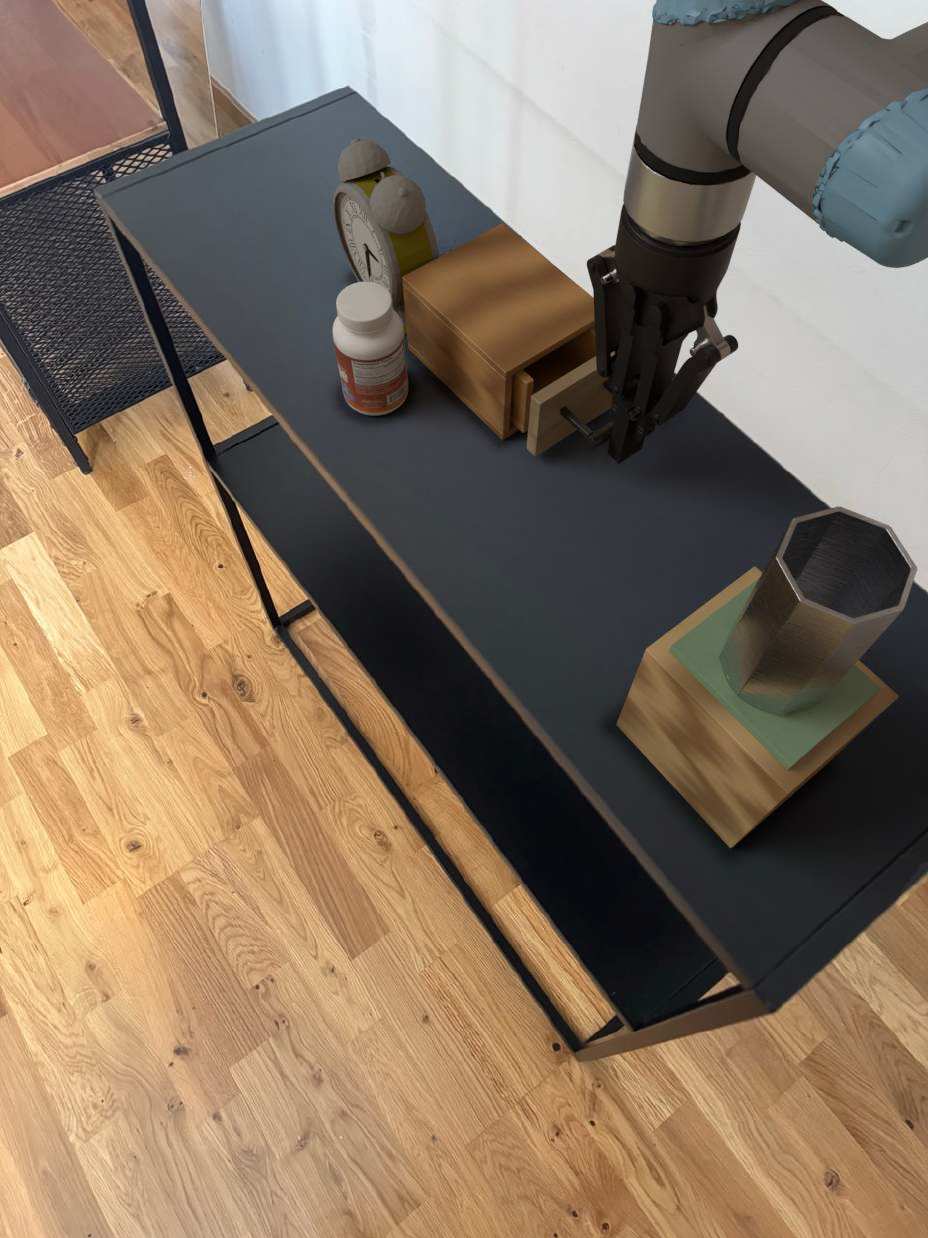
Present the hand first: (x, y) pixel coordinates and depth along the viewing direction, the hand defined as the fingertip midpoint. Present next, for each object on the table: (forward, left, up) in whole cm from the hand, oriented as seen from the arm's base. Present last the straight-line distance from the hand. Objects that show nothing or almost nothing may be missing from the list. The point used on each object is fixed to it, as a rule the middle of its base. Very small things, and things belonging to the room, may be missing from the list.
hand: (624, 450), depth 76 cm
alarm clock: (+28, -10, -3) cm, 30 cm away
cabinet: (+15, -7, -3) cm, 17 cm away
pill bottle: (+24, +2, -3) cm, 24 cm away
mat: (-17, +20, +10) cm, 28 cm away
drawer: (+9, -4, -2) cm, 10 cm away
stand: (-17, +20, -3) cm, 26 cm away
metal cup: (-17, +20, +11) cm, 28 cm away
